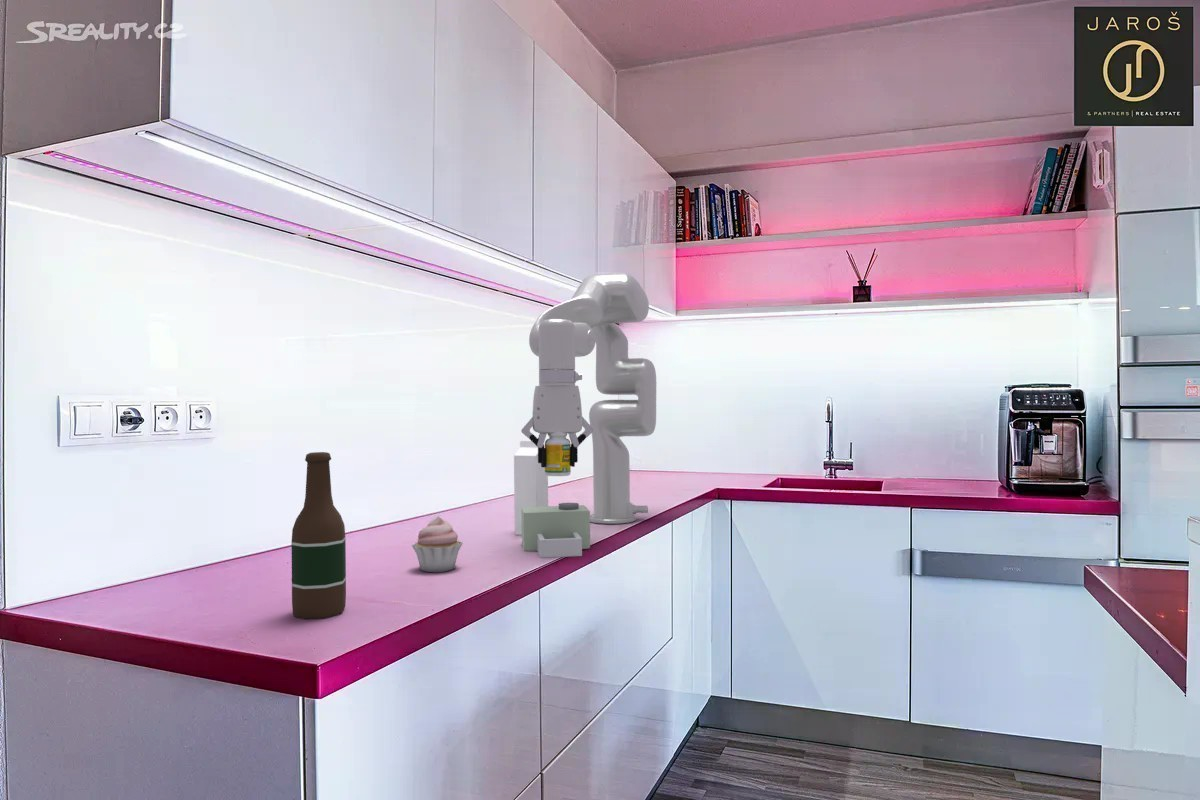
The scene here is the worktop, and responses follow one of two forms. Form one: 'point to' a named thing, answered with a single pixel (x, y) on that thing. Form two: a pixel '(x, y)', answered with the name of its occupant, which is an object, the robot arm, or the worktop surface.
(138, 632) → the worktop surface
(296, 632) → the worktop surface
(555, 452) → the supplement bottle
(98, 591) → the worktop surface
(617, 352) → the robot arm
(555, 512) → the green box with tray
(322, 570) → the beer bottle
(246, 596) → the worktop surface
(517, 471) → the milk
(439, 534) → the cupcake
